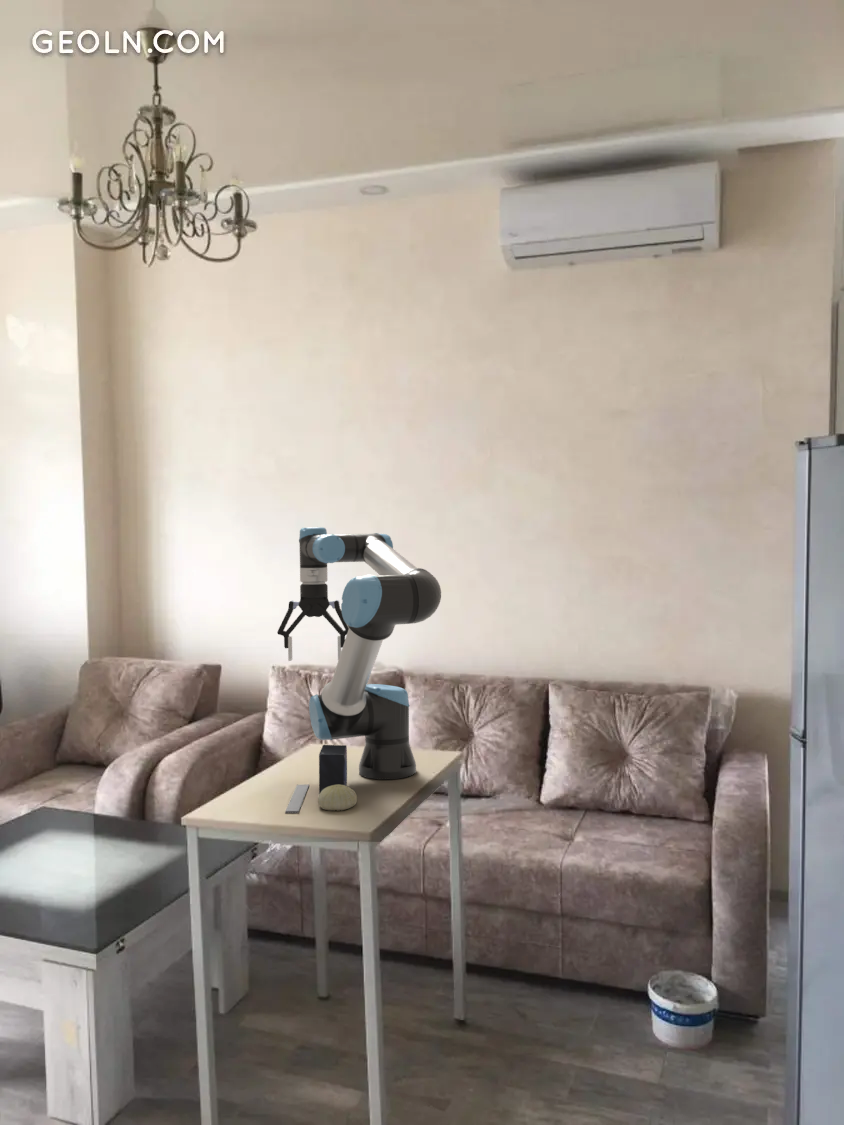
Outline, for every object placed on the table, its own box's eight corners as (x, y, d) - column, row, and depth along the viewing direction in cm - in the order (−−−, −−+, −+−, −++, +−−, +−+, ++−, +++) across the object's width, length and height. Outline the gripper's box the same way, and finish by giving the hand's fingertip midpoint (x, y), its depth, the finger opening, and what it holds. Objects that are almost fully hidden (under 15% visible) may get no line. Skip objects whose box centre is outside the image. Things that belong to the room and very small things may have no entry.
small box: (345, 796, 232) (344, 753, 231) (318, 797, 231) (317, 754, 231) (348, 785, 242) (347, 744, 242) (322, 785, 242) (321, 744, 242)
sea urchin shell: (311, 804, 218) (317, 774, 224) (318, 821, 224) (324, 791, 229) (350, 805, 217) (356, 775, 222) (356, 823, 223) (361, 792, 228)
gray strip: (309, 786, 241) (309, 784, 241) (298, 813, 218) (298, 810, 218) (297, 786, 241) (297, 784, 241) (285, 813, 218) (285, 811, 218)
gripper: (266, 584, 260) (267, 662, 261) (358, 583, 260) (359, 661, 261) (270, 582, 268) (271, 658, 268) (359, 581, 268) (360, 657, 269)
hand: (315, 659), depth 265 cm, fingers open, 13 cm apart
